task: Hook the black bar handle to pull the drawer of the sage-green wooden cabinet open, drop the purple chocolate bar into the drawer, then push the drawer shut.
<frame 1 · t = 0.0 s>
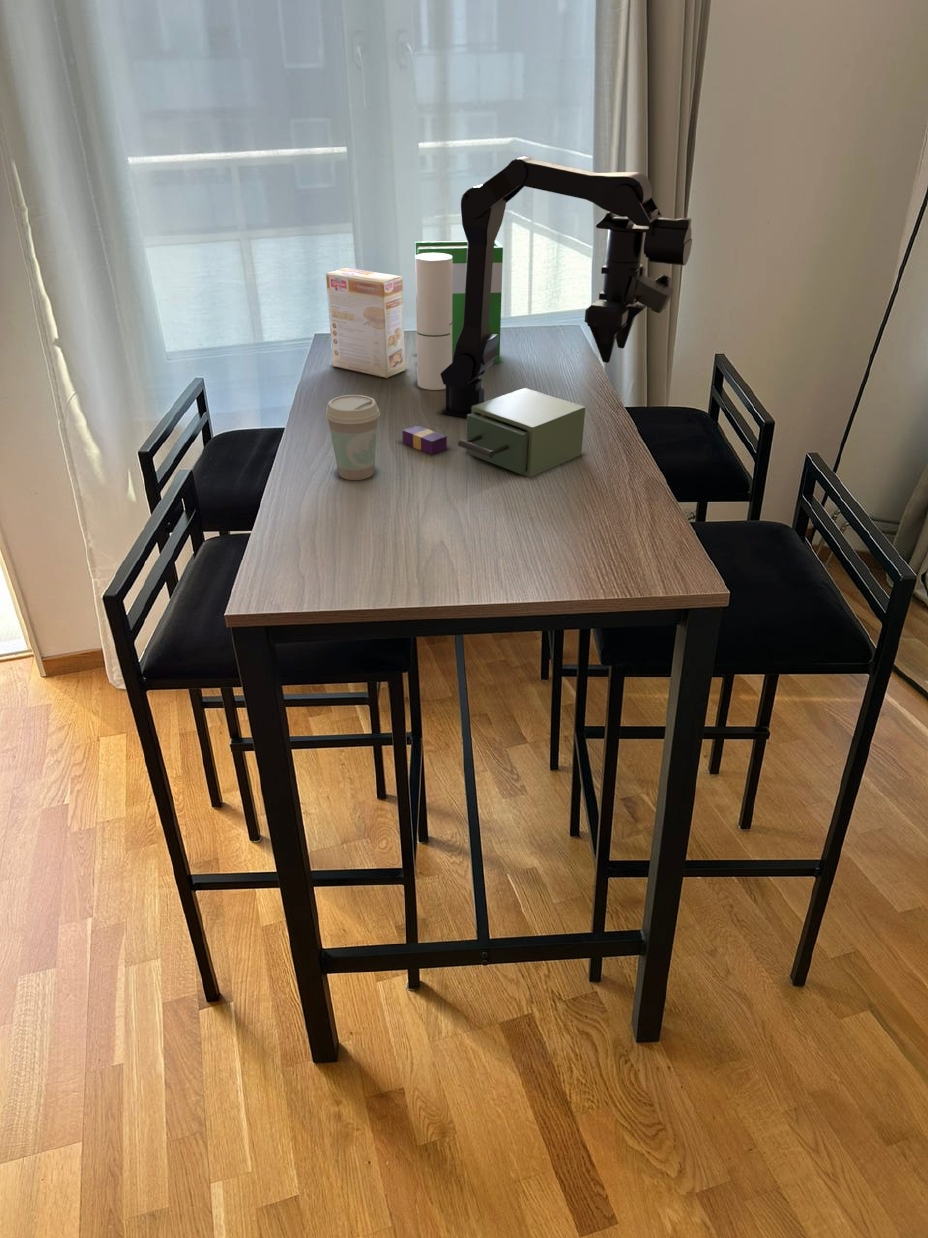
hand: (613, 354, 153), 15 cm above the table, tool pointing down, fingers open, 9 cm apart
coffee cup: (356, 474, 147), on the table
drawer: (509, 438, 149), point 4 cm above the table, slide at 0.5 cm
green white box: (457, 359, 199), on the table
cylindrical container: (434, 384, 184), on the table
coffeecake box: (368, 369, 193), on the table
chocolate bar: (424, 445, 156), on the table
cabinet: (526, 454, 154), on the table
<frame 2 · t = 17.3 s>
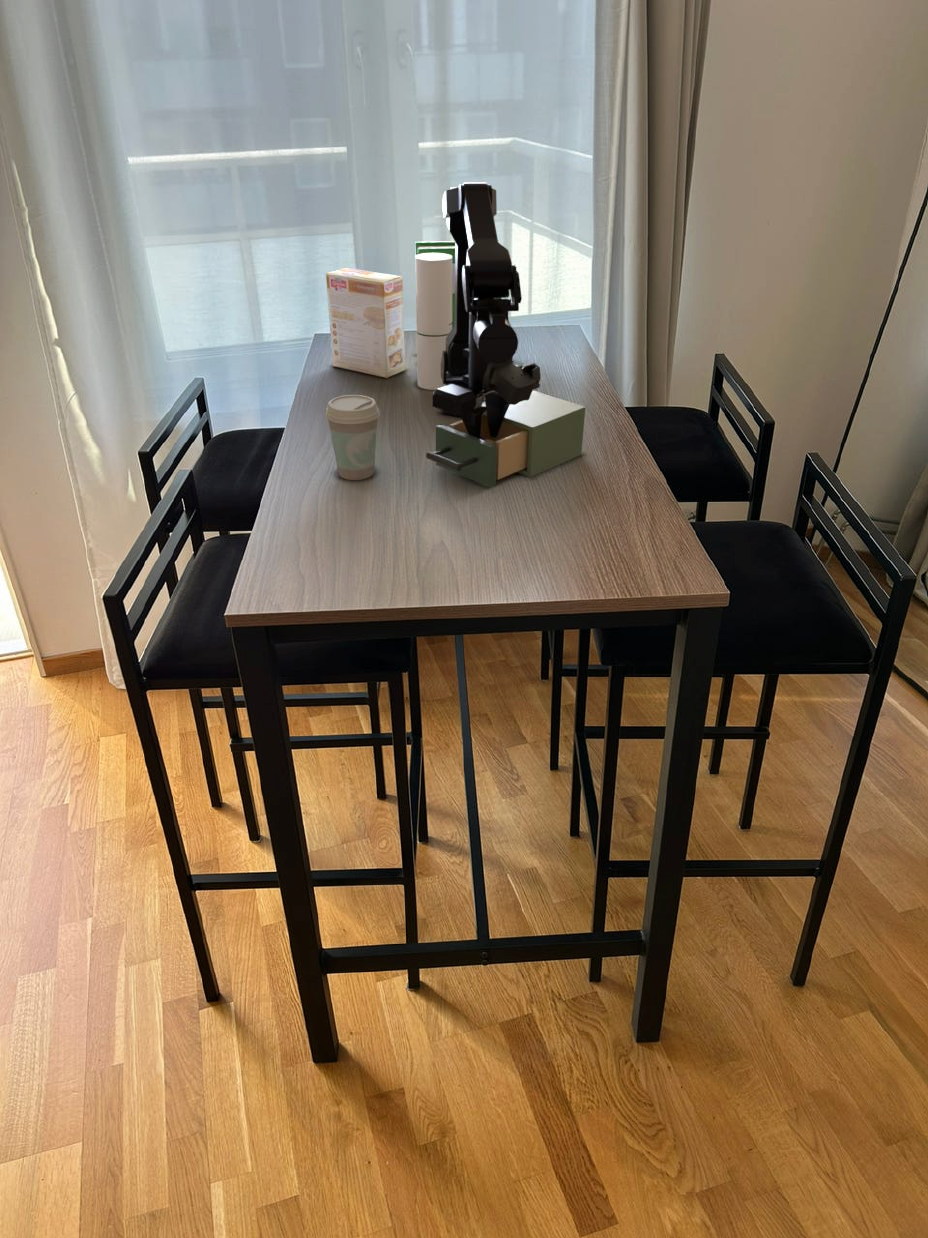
hand: (484, 440, 144), 6 cm above the table, tool pointing down, fingers open, 4 cm apart
drawer: (479, 449, 144), point 4 cm above the table, slide at 7.8 cm
chocolate bar: (484, 457, 146), point 3 cm above the table
everything else where it was.
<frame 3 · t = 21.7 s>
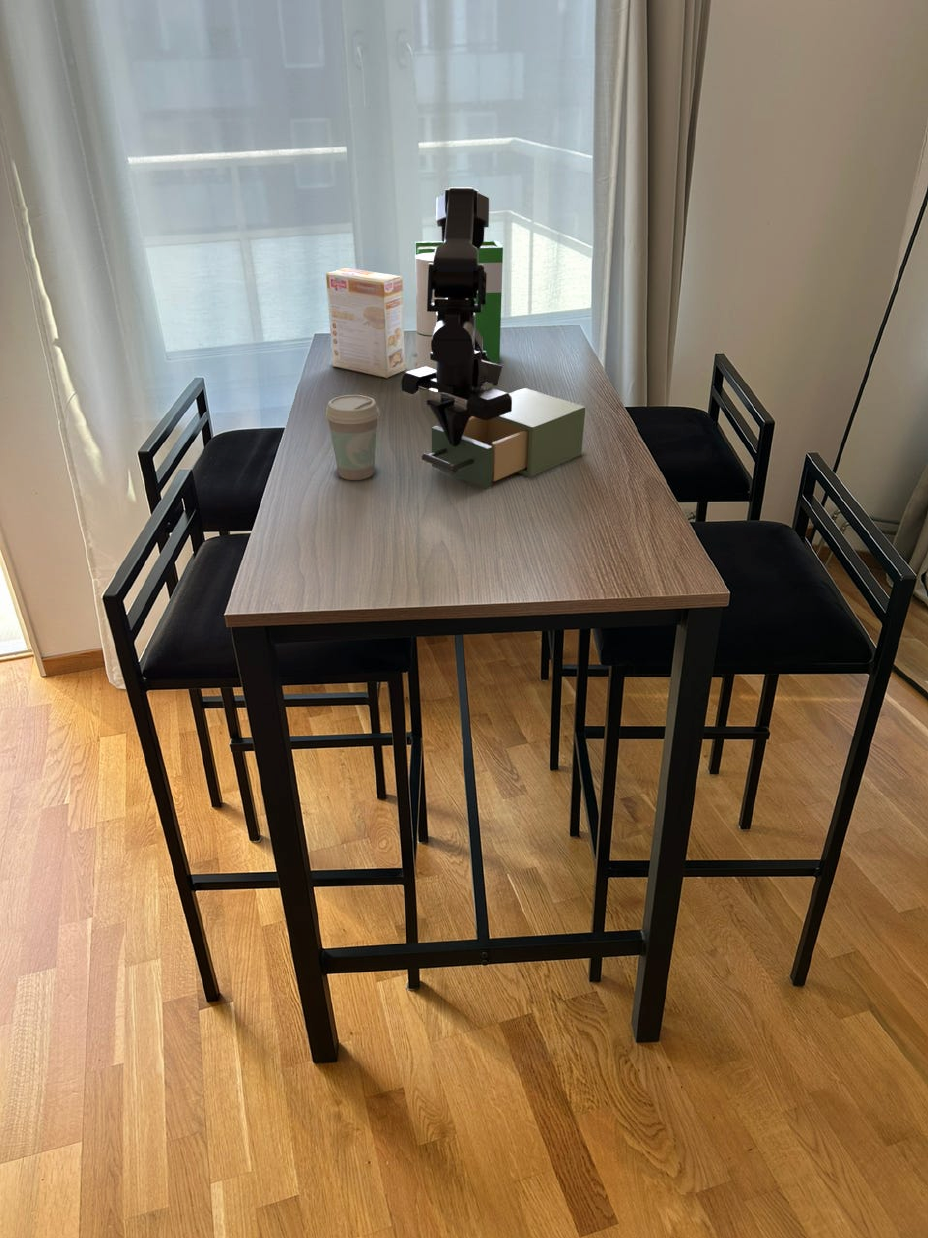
hand: (454, 445, 140), 7 cm above the table, tool pointing down, fingers closed
drawer: (475, 451, 144), point 4 cm above the table, slide at 8.7 cm, touching chocolate bar, gripper
chocolate bar: (480, 462, 146), point 2 cm above the table, touching drawer
everything else where it was.
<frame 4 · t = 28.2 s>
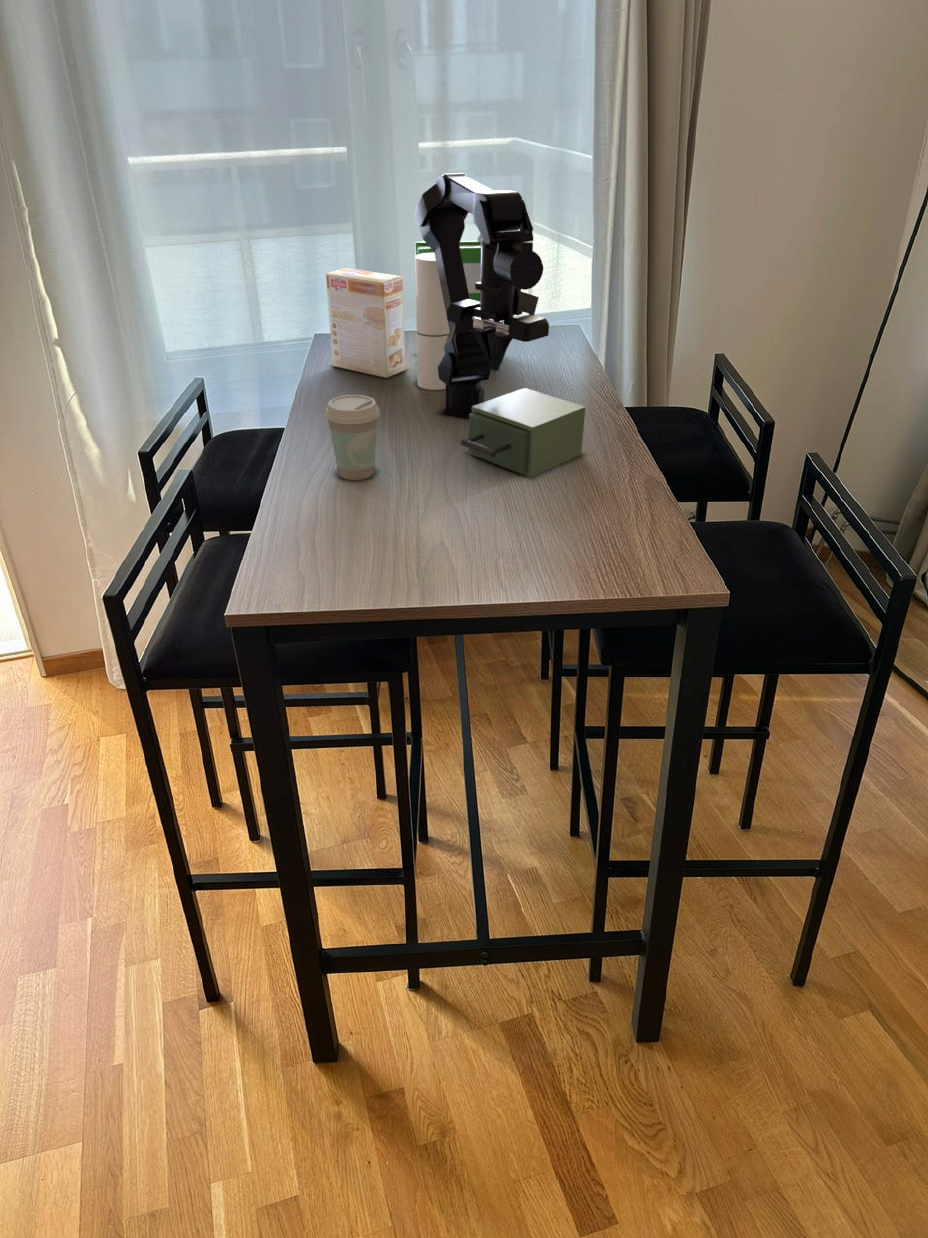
hand: (495, 370, 154), 12 cm above the table, tool pointing down, fingers closed
drawer: (511, 437, 149), point 4 cm above the table, slide at 0.0 cm, touching cabinet, chocolate bar
chocolate bar: (515, 447, 151), point 2 cm above the table, touching drawer
everything else where it was.
at the end: drawer pulled out 8.9 cm at the most during the clip, back to where it started at the end; chocolate bar inside the target area in the cabinet (1.3 cm from its centre), point 2.0 cm above the cabinet's base; drawer slide at 0.0 cm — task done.
